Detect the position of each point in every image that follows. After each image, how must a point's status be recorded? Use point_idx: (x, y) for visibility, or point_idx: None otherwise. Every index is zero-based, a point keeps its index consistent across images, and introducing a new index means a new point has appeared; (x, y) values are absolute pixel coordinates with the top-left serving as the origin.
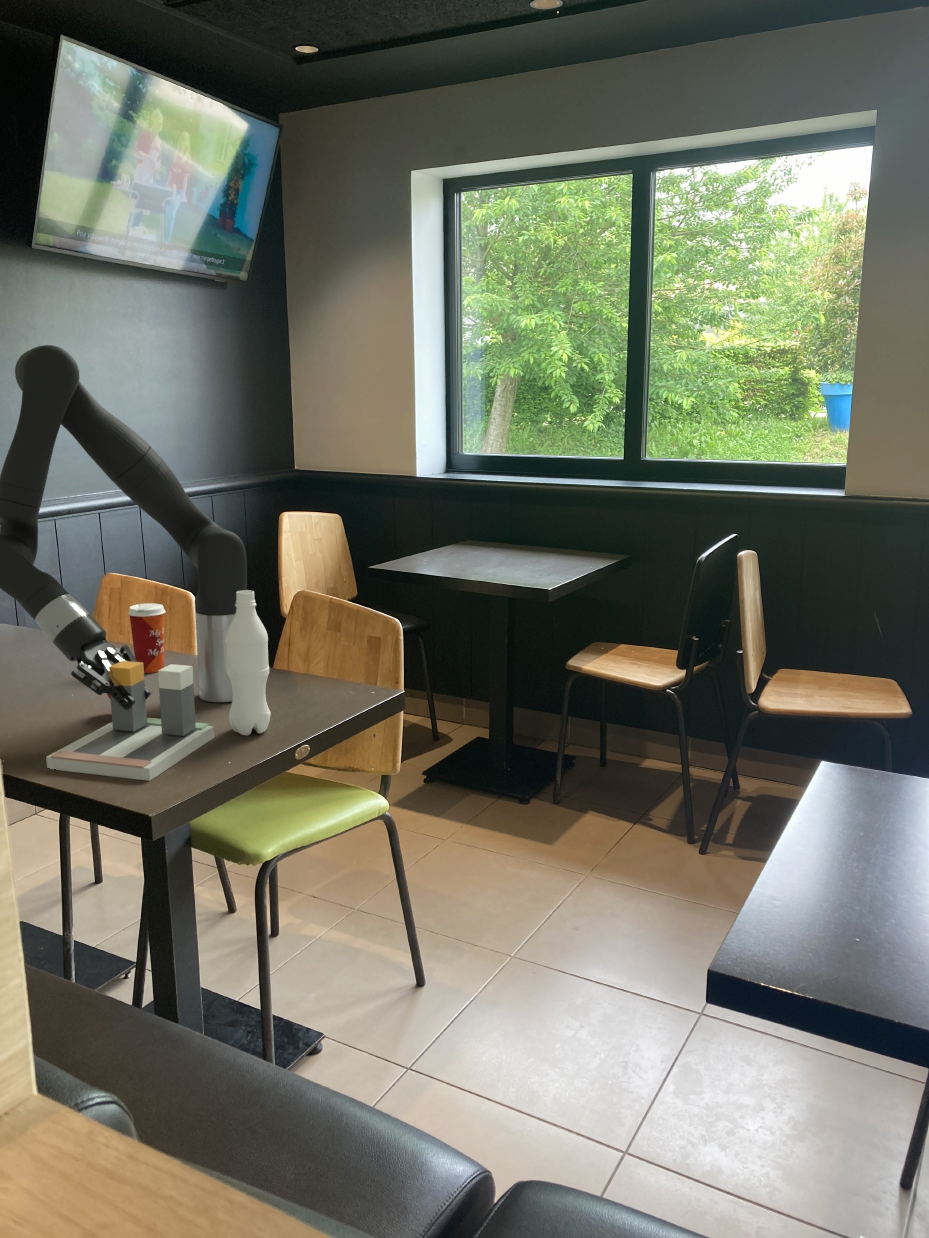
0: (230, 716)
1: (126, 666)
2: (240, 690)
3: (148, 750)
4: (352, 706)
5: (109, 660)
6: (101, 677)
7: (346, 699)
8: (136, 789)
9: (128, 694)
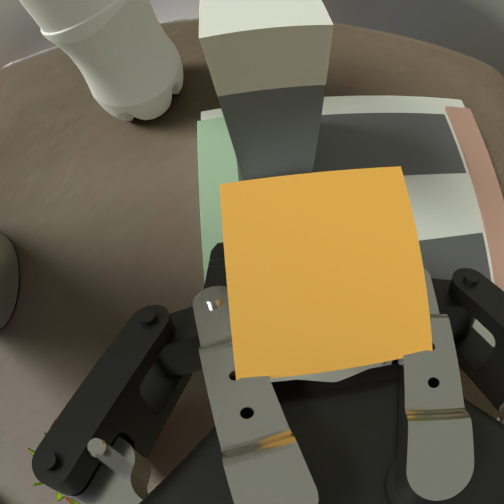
0: (165, 86)
1: (367, 227)
2: (151, 14)
3: (407, 145)
4: (32, 69)
5: (334, 437)
6: (492, 311)
7: (7, 94)
8: (480, 117)
9: None
